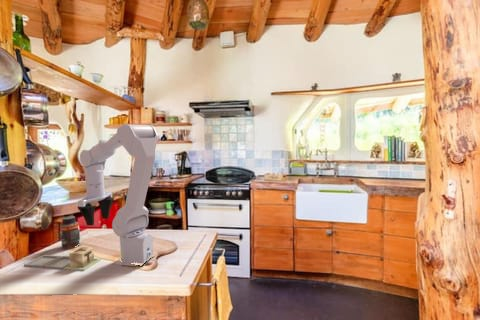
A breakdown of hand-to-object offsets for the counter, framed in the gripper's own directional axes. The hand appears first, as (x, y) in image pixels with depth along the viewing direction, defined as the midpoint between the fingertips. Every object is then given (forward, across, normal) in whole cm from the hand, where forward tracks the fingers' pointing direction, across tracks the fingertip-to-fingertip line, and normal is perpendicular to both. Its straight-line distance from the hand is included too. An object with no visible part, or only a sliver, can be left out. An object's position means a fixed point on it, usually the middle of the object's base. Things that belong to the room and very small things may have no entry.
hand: (98, 221), depth 96 cm
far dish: (+10, +12, -12) cm, 20 cm away
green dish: (+10, +12, +3) cm, 16 cm away
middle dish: (+10, +12, -4) cm, 16 cm away
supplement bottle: (+11, -1, -13) cm, 17 cm away
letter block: (+10, +12, +3) cm, 15 cm away
